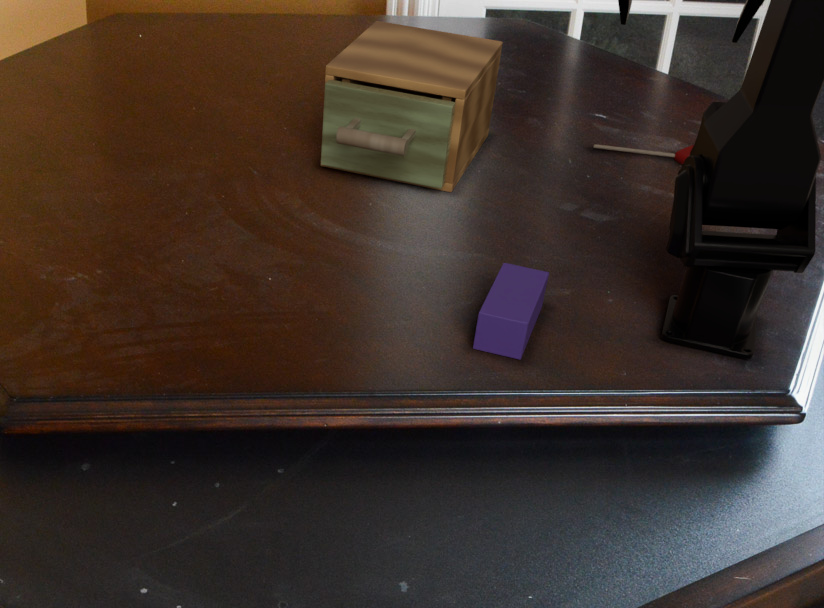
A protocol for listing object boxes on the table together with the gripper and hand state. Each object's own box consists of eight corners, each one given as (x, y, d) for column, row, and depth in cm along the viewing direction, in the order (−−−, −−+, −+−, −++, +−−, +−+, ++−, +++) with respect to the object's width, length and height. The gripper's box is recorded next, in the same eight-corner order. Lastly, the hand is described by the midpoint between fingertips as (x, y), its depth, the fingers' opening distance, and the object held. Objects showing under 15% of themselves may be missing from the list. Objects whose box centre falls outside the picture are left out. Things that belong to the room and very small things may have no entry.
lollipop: (593, 167, 101) (753, 186, 100) (595, 157, 100) (756, 177, 99) (591, 135, 107) (742, 153, 106) (593, 126, 107) (745, 144, 105)
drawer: (428, 208, 90) (439, 124, 85) (303, 183, 92) (307, 99, 88) (477, 135, 103) (488, 58, 98) (366, 115, 105) (372, 39, 101)
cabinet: (451, 192, 95) (465, 90, 89) (320, 166, 98) (325, 65, 92) (488, 136, 105) (503, 41, 99) (368, 113, 108) (376, 20, 102)
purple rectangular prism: (541, 307, 80) (549, 272, 78) (520, 360, 74) (528, 323, 72) (497, 297, 81) (503, 262, 79) (472, 349, 75) (478, 312, 73)
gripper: (865, -186, 82) (796, 25, 92) (626, -212, 87) (585, -8, 97) (868, -167, 74) (792, 61, 84) (604, -196, 79) (562, 24, 89)
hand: (678, 32), depth 89 cm, fingers open, 9 cm apart
